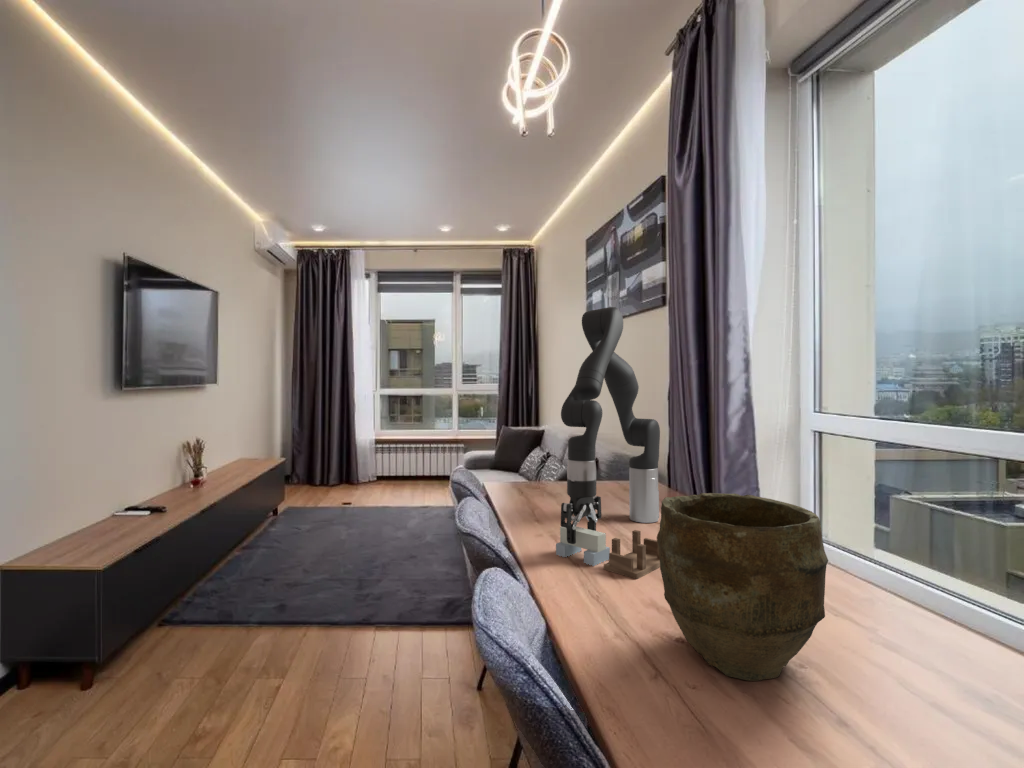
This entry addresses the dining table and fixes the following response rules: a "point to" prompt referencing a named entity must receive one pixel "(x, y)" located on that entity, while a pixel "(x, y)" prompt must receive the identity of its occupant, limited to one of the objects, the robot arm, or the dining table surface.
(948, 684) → the dining table surface
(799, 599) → the clay pot
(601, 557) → the pair of grey blocks
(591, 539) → the white rectangular block
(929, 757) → the dining table surface
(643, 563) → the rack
